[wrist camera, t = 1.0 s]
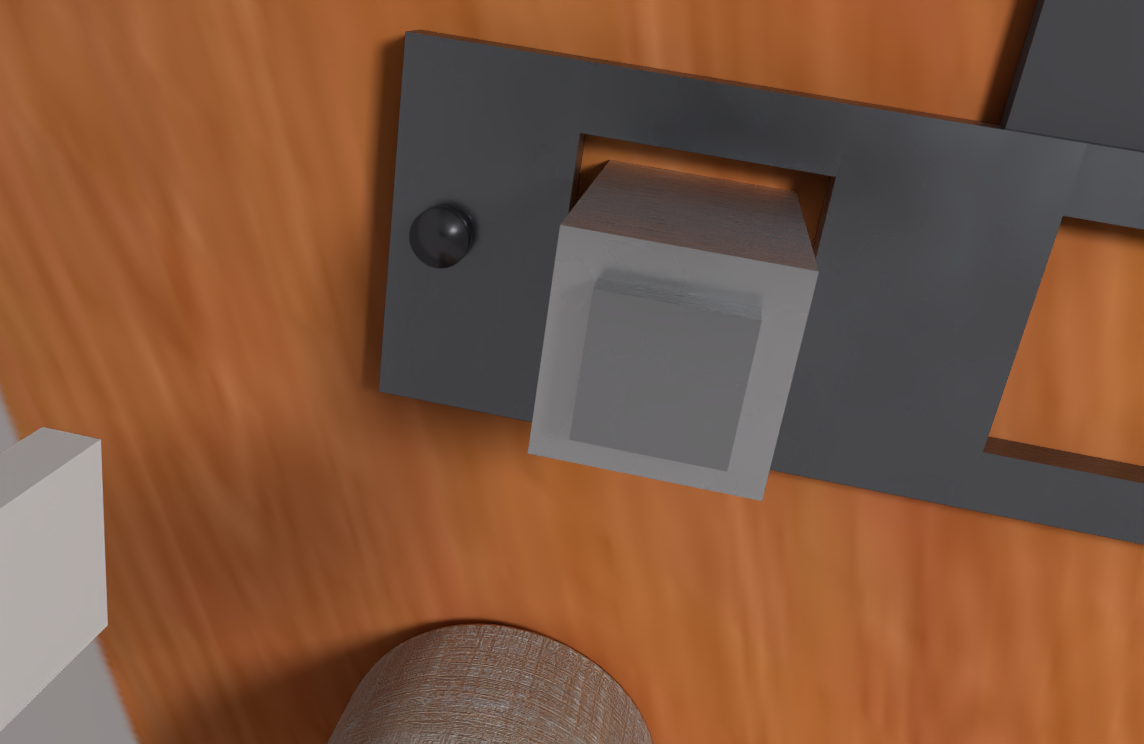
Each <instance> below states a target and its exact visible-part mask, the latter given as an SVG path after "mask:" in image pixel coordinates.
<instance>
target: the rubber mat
mask: <svg viewBox="0 0 1144 744" xmlns="http://www.w3.org/2000/svg"><path fill="white" fill-rule="evenodd" d="M1000 125H1001V126H1003V127H1005V128H1009V129H1016V130H1022V131H1028V132H1034V133H1040V134H1046V135H1052V136H1058V137H1064V138H1070V139H1076V140H1083V141H1089V142H1095V143H1101V144H1107V145H1113V146H1119V147H1125V148H1131V149H1137V150H1143V151H1144V0H1037V4H1036V7H1035V10H1034V14H1033V17H1032V20H1031V23H1030V27H1029V30H1028V33H1027V37H1026V40H1025V43H1024V47H1023V50H1022V53H1021V56H1020V60H1019V63H1018V66H1017V70H1016V73H1015V76H1014V79H1013V83H1012V86H1011V89H1010V93H1009V96H1008V99H1007V103H1006V106H1005V109H1004V112H1003V116H1002V119H1001V122H1000Z"/></svg>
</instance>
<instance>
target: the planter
mask: <svg viewBox="0 0 1144 744" xmlns="http://www.w3.org/2000/svg"><path fill="white" fill-rule="evenodd" d="M327 744H653V741H652V737H651V734H650V731H649V729H648V727H647V724H646V722H645V720H644V718H643V716H642V714H641V713H640V711H639V709H638V708H637V706H636V704H635V703H634V701H633V700H632V699H631V697H630V696H629V695H628V693H627V692H626V691H625V690H624V689H623V687H622V686H621V685H620V684H619V683H618V682H617V681H616V680H615V679H614V678H613V677H612V676H611V675H610V674H609V673H607V672H606V671H605V670H604V669H603V668H602V667H600V666H599V665H598V664H596V663H595V662H594V661H592V660H591V659H590V658H588V657H587V656H585V655H583V654H582V653H580V652H579V651H577V650H575V649H573V648H571V647H569V646H568V645H566V644H563V643H561V642H559V641H557V640H555V639H552V638H550V637H547V636H545V635H542V634H539V633H536V632H532V631H529V630H525V629H520V628H516V627H510V626H505V625H496V624H461V625H452V626H446V627H441V628H437V629H433V630H430V631H427V632H424V633H421V634H419V635H416V636H414V637H412V638H409V639H408V640H406V641H404V642H402V643H400V644H399V645H397V646H396V647H394V648H393V649H391V650H390V651H389V652H388V653H386V654H385V655H384V656H383V657H382V658H381V659H380V660H378V661H377V662H376V664H375V665H374V666H373V667H372V668H371V669H370V670H369V672H368V673H367V674H366V675H365V677H364V678H363V679H362V681H361V682H360V683H359V685H358V686H357V688H356V690H355V691H354V693H353V695H352V697H351V699H350V701H349V703H348V704H347V706H346V708H345V710H344V712H343V714H342V716H341V718H340V720H339V721H338V723H337V725H336V727H335V729H334V731H333V733H332V735H331V737H330V739H329V741H328V743H327Z"/></svg>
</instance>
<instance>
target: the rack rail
mask: <svg viewBox="0 0 1144 744" xmlns="http://www.w3.org/2000/svg"><path fill="white" fill-rule="evenodd" d="M586 134H589V135H595V136H601V137H606V138H612V139H618V140H624V141H630V142H636V143H641V144H647V145H653V146H659V147H665V148H671V149H676V150H682V151H688V152H694V153H700V154H706V155H711V156H717V157H723V158H729V159H735V160H741V161H746V162H752V163H758V164H764V165H770V166H776V167H781V168H787V169H793V170H799V171H805V172H811V173H816V174H822V175H828V176H830V179H829V183H828V187H827V191H826V195H825V199H824V203H823V207H822V211H821V216H820V220H819V224H818V228H817V232H816V236H815V240H814V244H813V248H812V249H813V252H814V256H815V259H816V263H817V266H818V270H819V273H818V277H817V281H816V285H815V289H814V293H813V297H812V302H811V306H810V310H809V314H808V318H807V322H806V326H805V330H804V334H803V338H802V342H801V346H800V350H799V354H798V358H797V362H796V366H795V370H794V374H793V378H792V382H791V386H790V390H789V394H788V398H787V402H786V406H785V410H784V414H783V418H782V422H781V426H780V430H779V434H778V438H777V442H776V446H775V450H774V454H773V458H772V462H771V466H770V470H774V471H779V472H784V473H789V474H794V475H799V476H804V477H809V478H814V479H819V480H824V481H829V482H834V483H839V484H844V485H849V486H854V487H859V488H864V489H869V490H874V491H879V492H884V493H889V494H894V495H899V496H904V497H909V498H914V499H919V500H924V501H929V502H934V503H939V504H944V505H949V506H954V507H959V508H964V509H969V510H974V511H979V512H984V513H989V514H994V515H999V516H1004V517H1009V518H1014V519H1019V520H1024V521H1029V522H1034V523H1039V524H1044V525H1049V526H1054V527H1059V528H1064V529H1069V530H1074V531H1079V532H1084V533H1089V534H1094V535H1099V536H1104V537H1109V538H1114V539H1119V540H1124V541H1129V542H1134V543H1139V544H1144V467H1143V466H1138V465H1133V464H1128V463H1122V462H1117V461H1112V460H1107V459H1102V458H1097V457H1091V456H1086V455H1081V454H1076V453H1071V452H1065V451H1060V450H1055V449H1050V448H1045V447H1040V446H1034V445H1029V444H1024V443H1019V442H1014V441H1008V440H1003V439H998V438H993V437H988V435H989V432H990V429H991V426H992V423H993V420H994V417H995V414H996V412H997V409H998V406H999V403H1000V400H1001V397H1002V394H1003V391H1004V388H1005V385H1006V382H1007V379H1008V376H1009V373H1010V370H1011V367H1012V364H1013V361H1014V359H1015V356H1016V353H1017V350H1018V347H1019V344H1020V341H1021V338H1022V335H1023V332H1024V329H1025V326H1026V323H1027V320H1028V317H1029V314H1030V311H1031V308H1032V306H1033V303H1034V300H1035V297H1036V294H1037V291H1038V288H1039V285H1040V282H1041V279H1042V276H1043V273H1044V270H1045V267H1046V264H1047V261H1048V258H1049V255H1050V253H1051V250H1052V247H1053V244H1054V241H1055V238H1056V235H1057V232H1058V229H1059V226H1060V223H1061V220H1062V217H1063V216H1067V217H1073V218H1079V219H1085V220H1091V221H1097V222H1102V223H1108V224H1114V225H1120V226H1126V227H1132V228H1137V229H1143V230H1144V151H1143V150H1137V149H1131V148H1125V147H1119V146H1113V145H1107V144H1101V143H1095V142H1089V141H1083V140H1076V139H1070V138H1064V137H1058V136H1052V135H1046V134H1040V133H1034V132H1028V131H1022V130H1016V129H1009V128H1005V127H1003V126H1001V125H998V124H992V123H986V122H980V121H973V120H967V119H961V118H955V117H949V116H943V115H937V114H931V113H925V112H919V111H912V110H906V109H900V108H894V107H888V106H882V105H876V104H870V103H864V102H858V101H851V100H845V99H839V98H833V97H827V96H821V95H815V94H809V93H803V92H797V91H790V90H784V89H778V88H772V87H766V86H760V85H754V84H748V83H742V82H736V81H729V80H723V79H717V78H711V77H705V76H699V75H693V74H687V73H681V72H675V71H669V70H662V69H656V68H650V67H644V66H638V65H632V64H626V63H620V62H614V61H608V60H601V59H595V58H589V57H583V56H577V55H571V54H565V53H559V52H553V51H547V50H540V49H534V48H528V47H522V46H516V45H510V44H504V43H498V42H492V41H486V40H479V39H473V38H467V37H461V36H455V35H449V34H443V33H437V32H431V31H425V30H413V31H406V32H405V46H404V59H403V73H402V86H401V99H400V113H399V126H398V140H397V153H396V167H395V180H394V193H393V207H392V220H391V234H390V247H389V260H388V274H387V287H386V301H385V314H384V327H383V341H382V354H381V368H380V381H379V392H384V393H389V394H394V395H399V396H404V397H409V398H414V399H419V400H424V401H429V402H434V403H439V404H444V405H449V406H454V407H459V408H464V409H469V410H474V411H479V412H484V413H489V414H494V415H499V416H504V417H509V418H514V419H519V420H524V421H529V422H532V420H533V413H534V406H535V399H536V392H537V385H538V378H539V370H540V363H541V356H542V349H543V342H544V335H545V328H546V321H547V314H548V307H549V300H550V293H551V286H552V279H553V272H554V265H555V257H556V250H557V243H558V236H559V229H560V224H561V223H562V222H563V220H564V219H565V218H566V216H567V215H568V214H569V213H570V211H571V210H572V209H573V207H574V206H575V203H576V196H577V189H578V182H579V176H580V169H581V162H582V155H583V148H584V141H585V135H586Z"/></svg>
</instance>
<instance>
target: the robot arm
mask: <svg viewBox="0 0 1144 744" xmlns="http://www.w3.org/2000/svg"><path fill="white" fill-rule="evenodd" d="M107 626H108V619H107V592H106V566H105V539H104V513H103V487H102V460H101V439H96V438H92V437H87V436H82V435H77V434H73V433H68V432H63V431H58V430H54V429H49V428H44V427H42V428H40V429H39V430H37V431H35V432H34V433H32V434H30V435H29V436H27V437H26V438H24V439H22V440H21V441H19V442H17V443H16V444H14V445H13V446H11V447H9V448H8V449H6V450H4V451H3V452H1V453H0V731H1V730H2V729H3V728H4V727H5V726H6V725H7V724H8V723H9V722H10V721H11V720H13V719H14V717H16V716H17V714H18V713H20V712H21V711H22V710H23V709H24V708H25V706H26V705H28V704H29V703H30V702H31V701H32V700H33V699H34V698H35V697H36V696H37V695H38V694H39V693H40V692H41V691H42V690H43V689H44V688H45V687H46V686H47V685H48V684H49V683H50V682H51V681H52V680H53V679H54V678H55V677H56V676H57V675H58V674H59V673H60V672H61V671H62V670H63V669H64V668H65V667H66V666H67V665H68V664H69V663H70V662H71V661H72V660H73V659H74V658H75V657H76V656H77V655H78V654H79V653H80V652H81V651H82V650H83V649H84V648H85V647H86V646H87V645H88V644H89V643H90V642H91V641H92V640H93V639H94V638H95V637H96V636H97V635H98V634H99V633H100V632H101V631H102V630H103V629H104V628H105V627H107Z"/></svg>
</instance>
